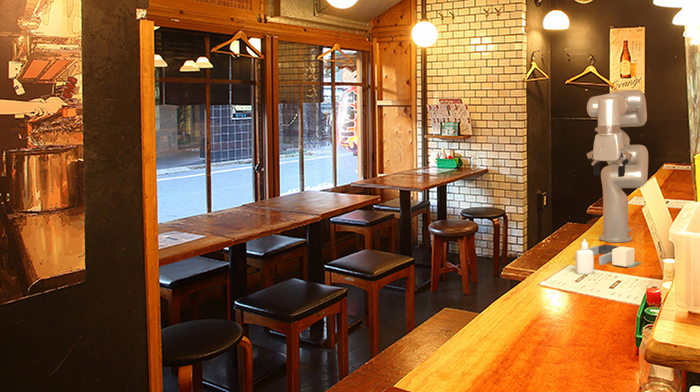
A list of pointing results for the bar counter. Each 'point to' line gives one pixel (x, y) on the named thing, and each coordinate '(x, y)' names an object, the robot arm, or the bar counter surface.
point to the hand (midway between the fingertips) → (608, 175)
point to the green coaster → (632, 264)
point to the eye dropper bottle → (584, 259)
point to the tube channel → (604, 258)
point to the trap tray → (606, 248)
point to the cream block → (623, 256)
